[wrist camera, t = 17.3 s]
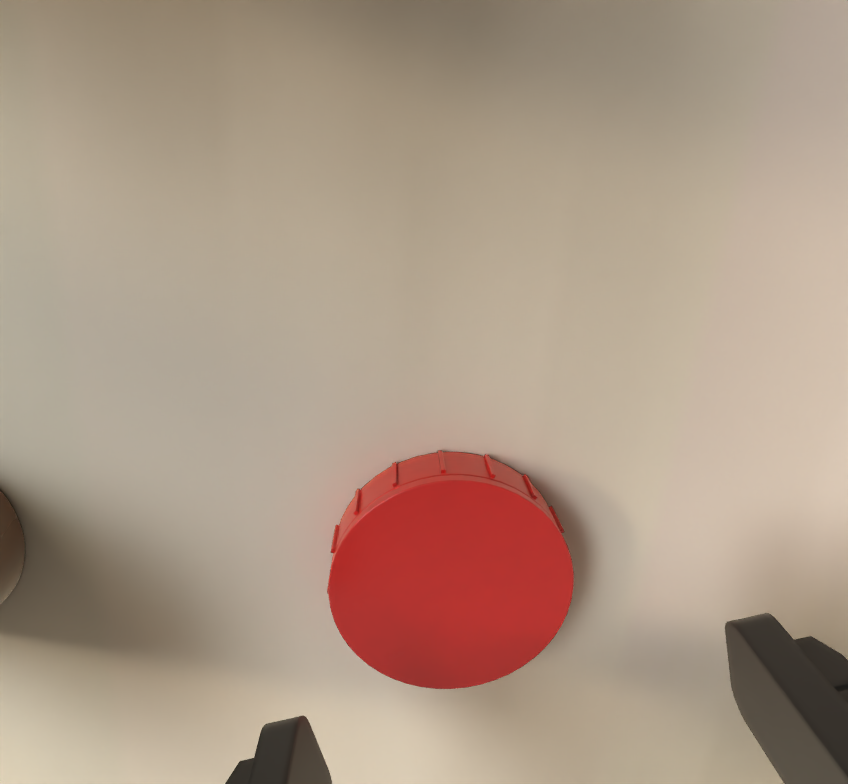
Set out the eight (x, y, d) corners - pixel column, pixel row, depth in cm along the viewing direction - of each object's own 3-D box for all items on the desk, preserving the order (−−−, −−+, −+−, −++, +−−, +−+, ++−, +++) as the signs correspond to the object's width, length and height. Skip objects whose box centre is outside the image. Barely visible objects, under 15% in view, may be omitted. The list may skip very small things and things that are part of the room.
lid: (324, 637, 17) (318, 682, 15) (343, 438, 15) (337, 467, 13) (536, 653, 17) (550, 697, 16) (578, 461, 15) (599, 491, 14)
